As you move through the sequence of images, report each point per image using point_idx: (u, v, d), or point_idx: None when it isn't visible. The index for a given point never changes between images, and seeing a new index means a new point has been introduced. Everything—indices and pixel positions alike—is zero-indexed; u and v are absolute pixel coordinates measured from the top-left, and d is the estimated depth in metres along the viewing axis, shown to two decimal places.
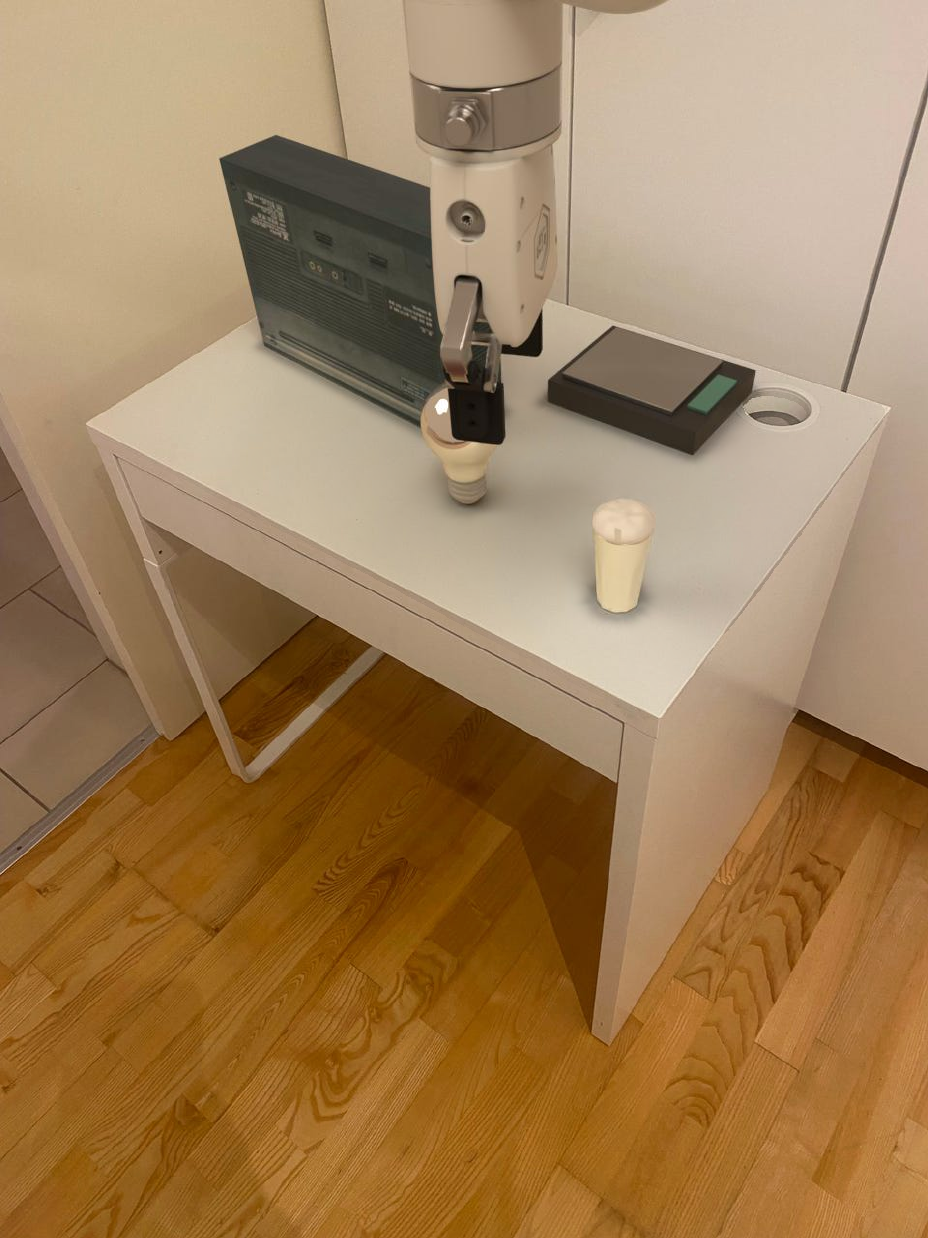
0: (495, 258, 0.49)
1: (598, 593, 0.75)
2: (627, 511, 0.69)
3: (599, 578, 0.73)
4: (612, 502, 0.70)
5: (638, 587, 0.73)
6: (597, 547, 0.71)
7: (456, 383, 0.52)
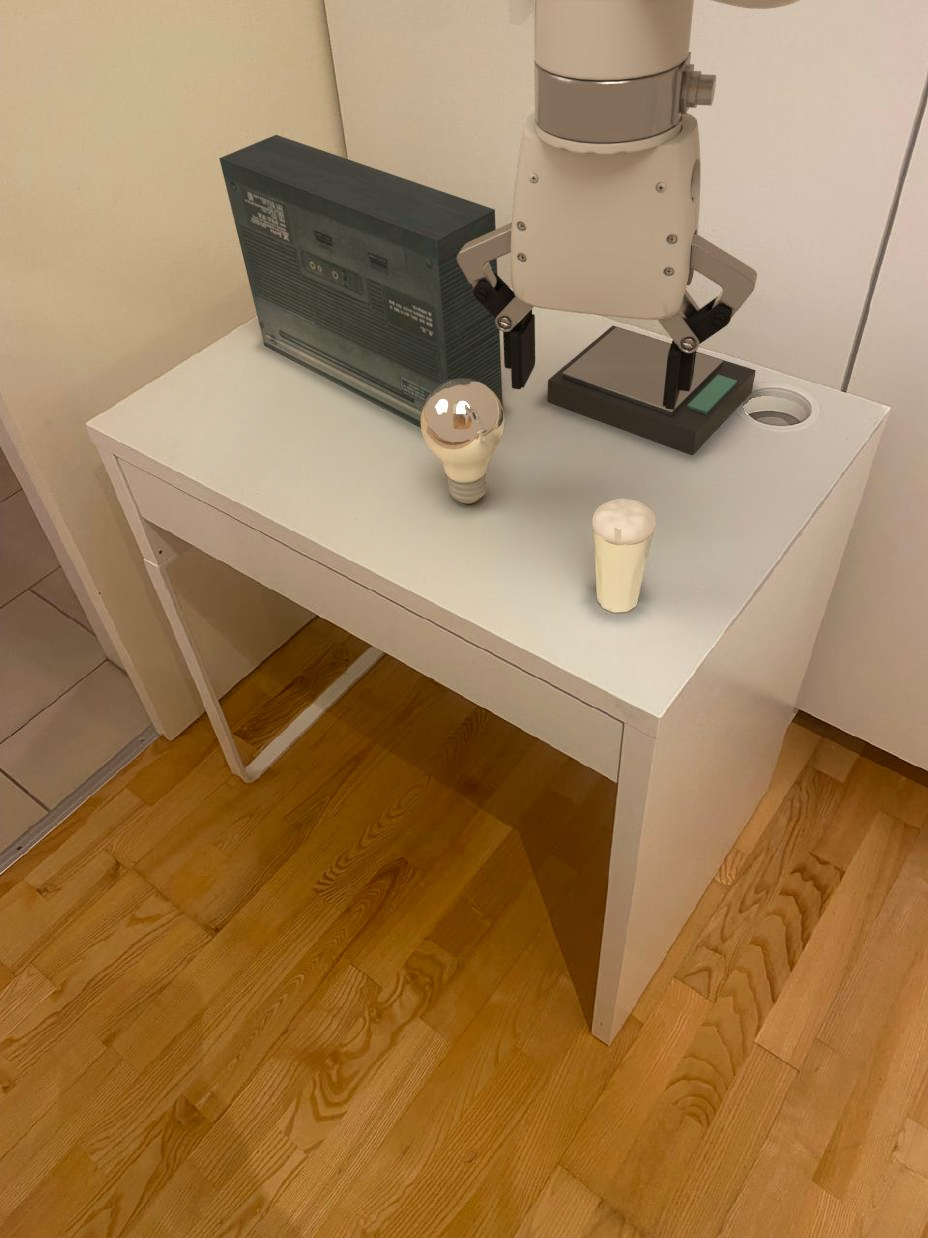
0: (699, 201, 0.52)
1: (598, 593, 0.75)
2: (627, 511, 0.69)
3: (599, 578, 0.73)
4: (612, 502, 0.70)
5: (638, 587, 0.73)
6: (597, 547, 0.71)
7: None
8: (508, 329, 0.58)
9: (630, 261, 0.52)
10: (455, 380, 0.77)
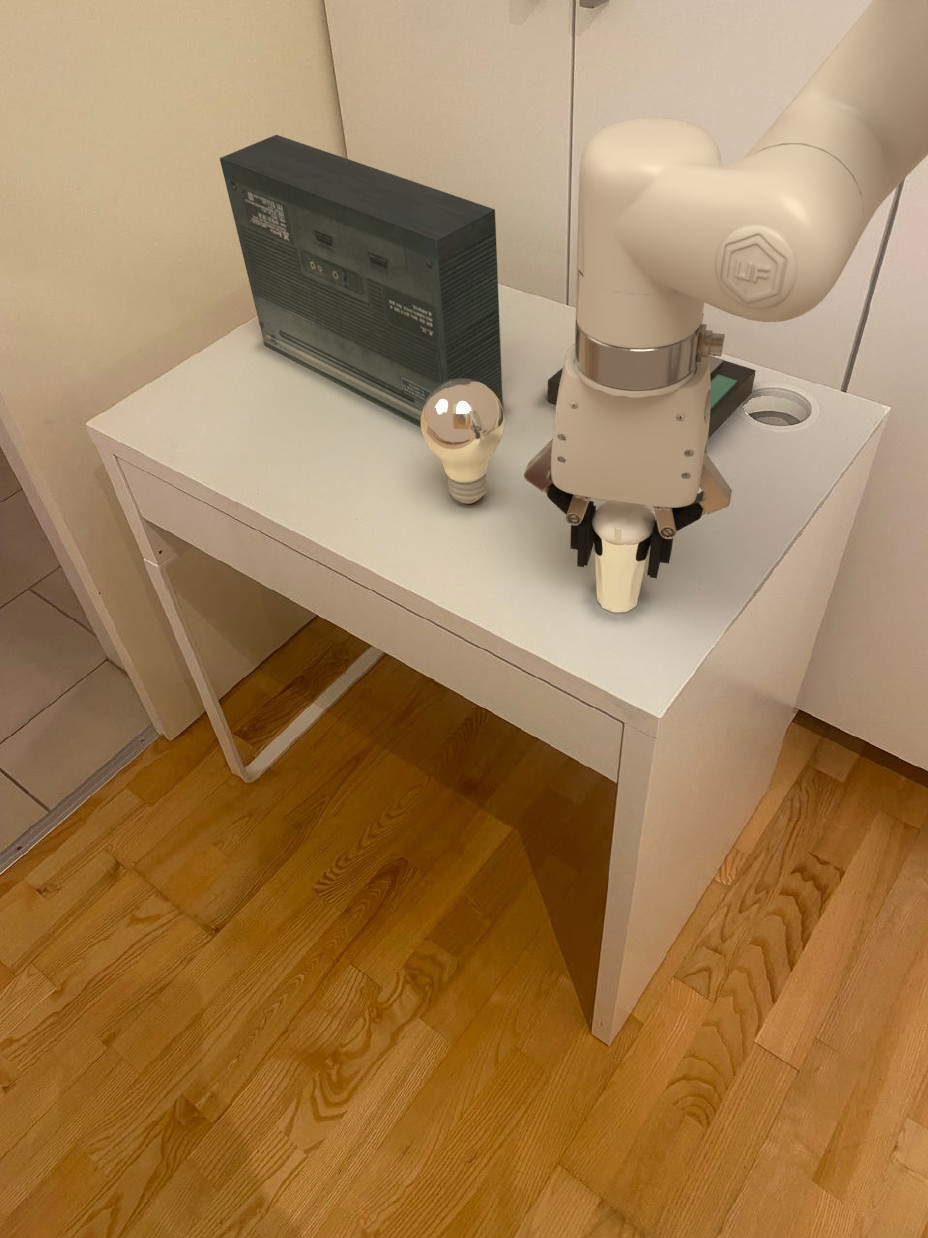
0: None
1: (598, 593, 0.75)
2: (627, 511, 0.69)
3: (599, 578, 0.73)
4: (612, 502, 0.70)
5: (638, 587, 0.73)
6: (597, 547, 0.71)
7: None
8: (576, 523, 0.69)
9: (654, 467, 0.62)
10: (455, 380, 0.77)
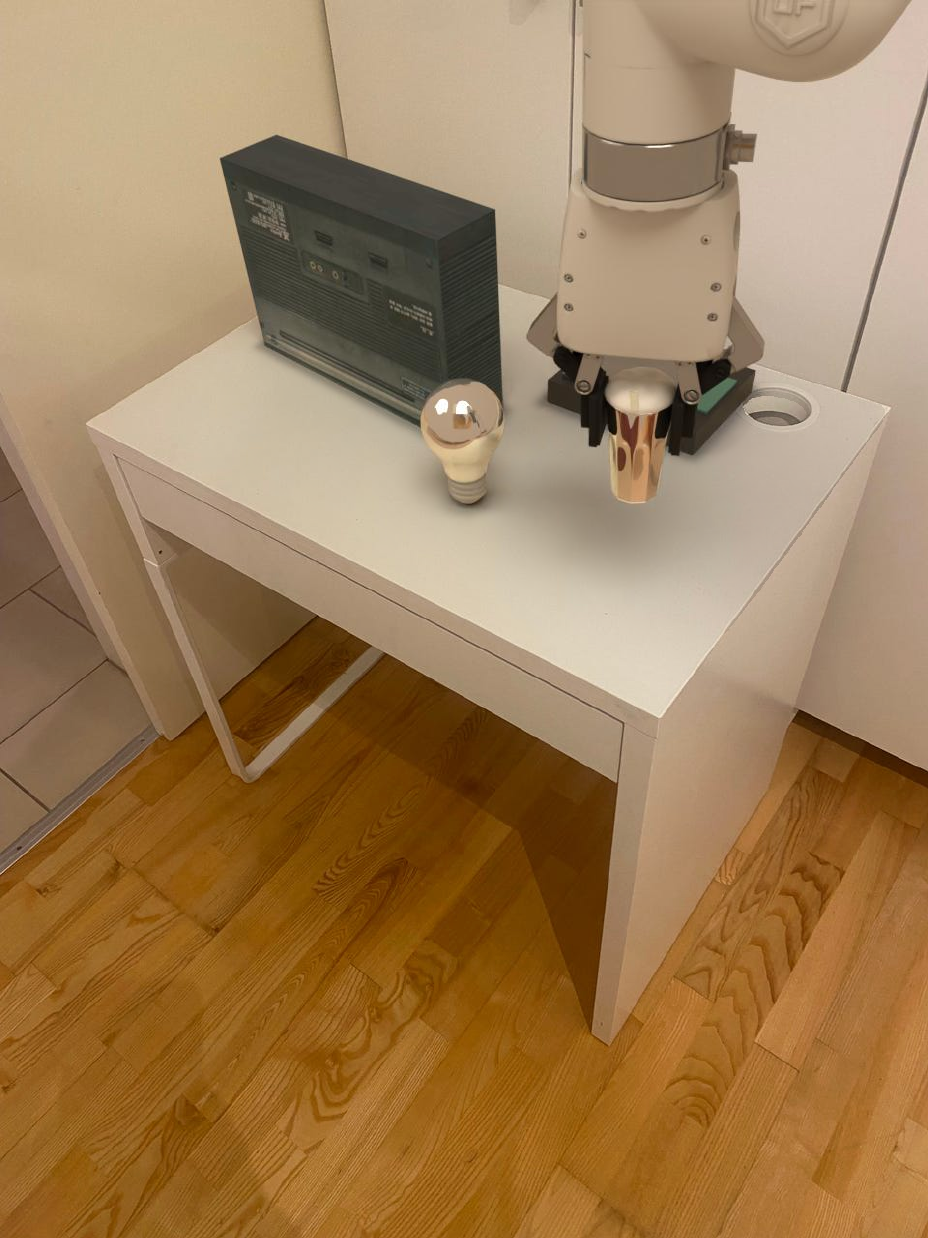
0: None
1: (613, 482, 0.66)
2: (644, 377, 0.61)
3: (613, 462, 0.65)
4: (627, 369, 0.62)
5: (658, 472, 0.65)
6: (611, 422, 0.62)
7: None
8: (587, 392, 0.61)
9: (675, 308, 0.54)
10: (455, 380, 0.77)
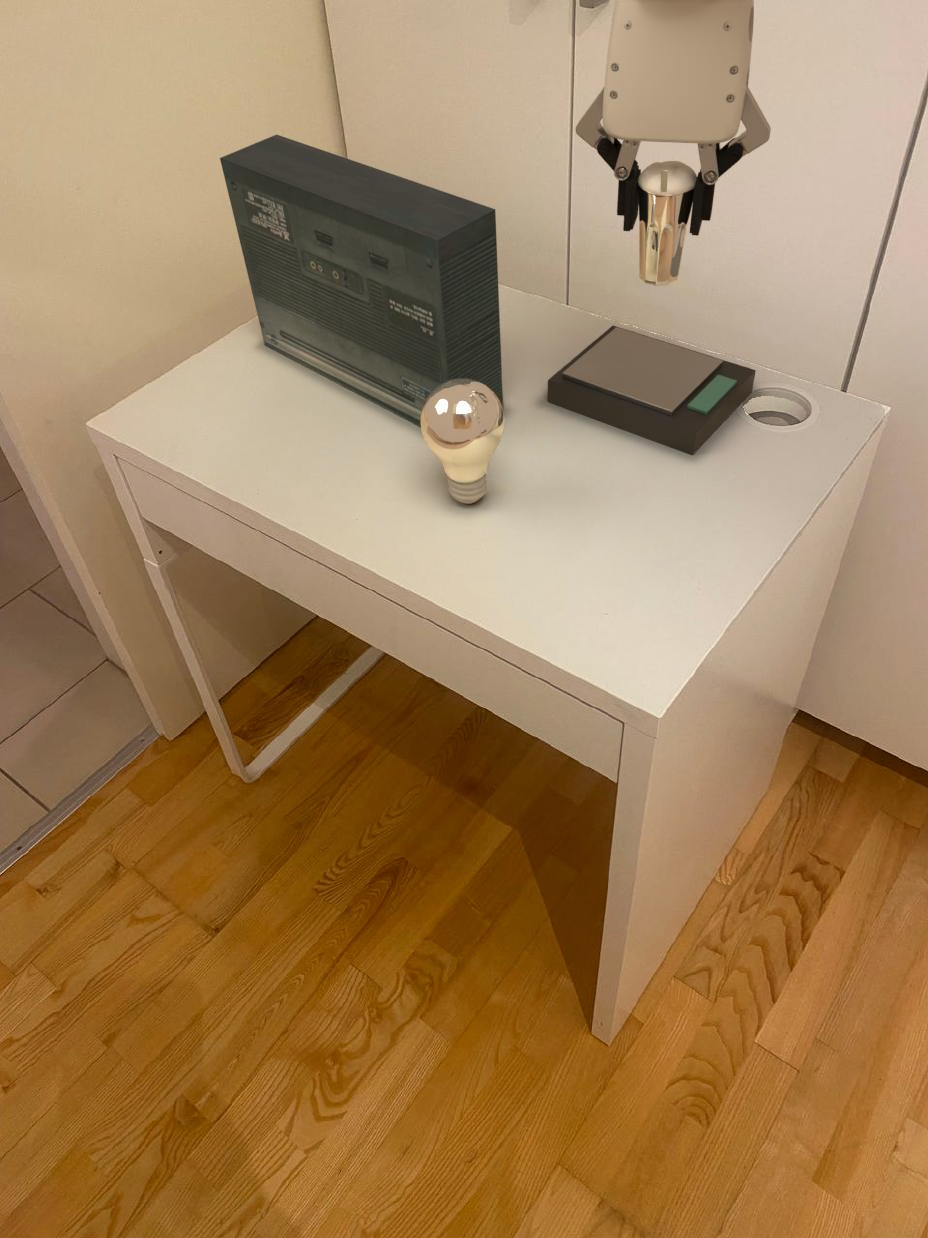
0: None
1: (641, 268, 0.80)
2: (671, 166, 0.74)
3: (643, 247, 0.78)
4: (656, 162, 0.75)
5: (679, 255, 0.78)
6: (642, 207, 0.76)
7: None
8: (624, 178, 0.74)
9: (701, 90, 0.67)
10: (455, 380, 0.77)
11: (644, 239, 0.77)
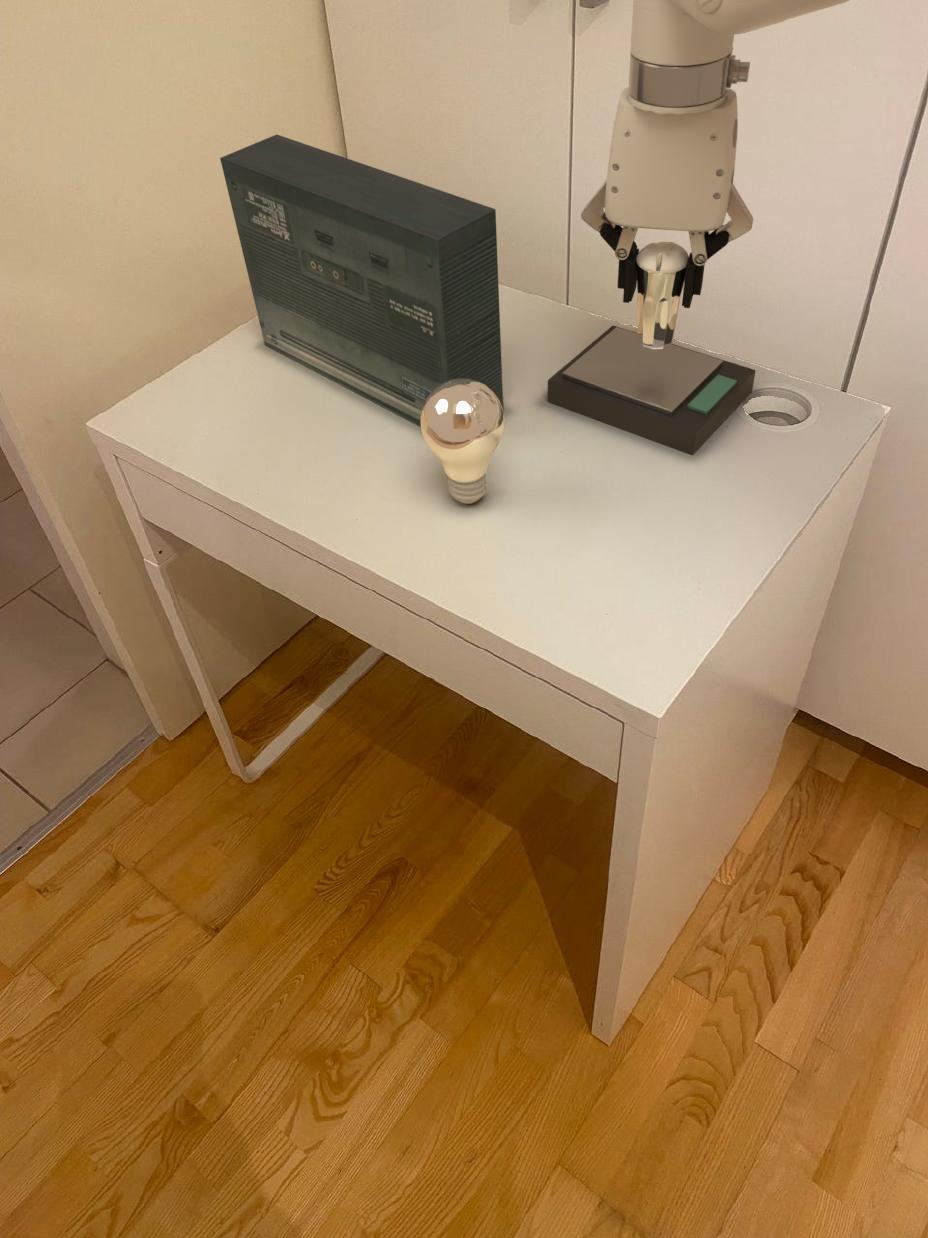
0: None
1: (639, 333, 0.89)
2: (666, 247, 0.84)
3: (640, 316, 0.87)
4: None
5: (673, 323, 0.88)
6: (640, 282, 0.85)
7: None
8: (624, 258, 0.83)
9: (691, 189, 0.77)
10: (455, 380, 0.77)
11: (642, 309, 0.87)
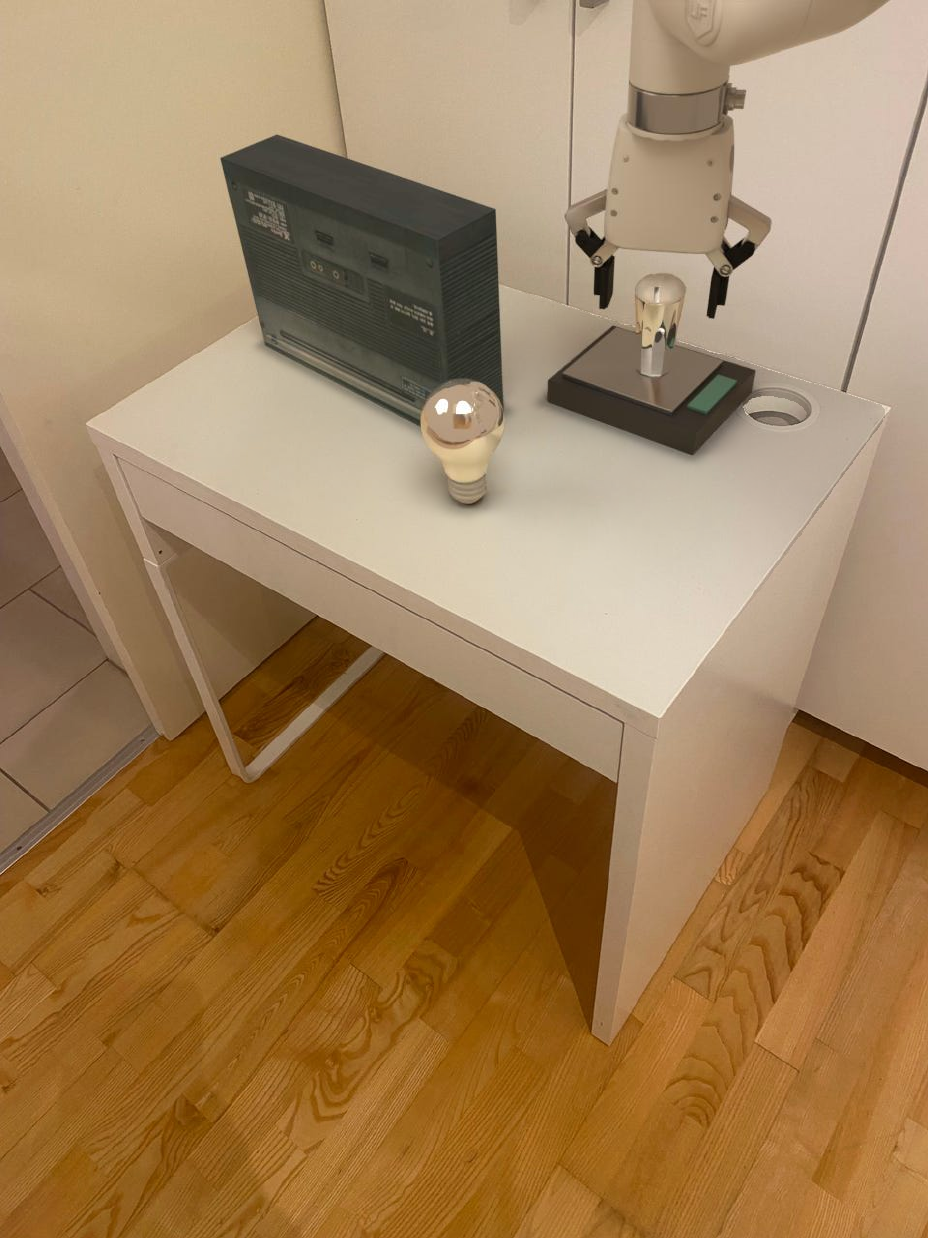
0: None
1: (637, 361, 0.91)
2: (663, 279, 0.86)
3: (639, 344, 0.90)
4: (651, 274, 0.86)
5: (671, 352, 0.90)
6: (638, 313, 0.87)
7: None
8: (599, 265, 0.84)
9: (688, 212, 0.78)
10: (455, 380, 0.77)
11: (640, 338, 0.89)
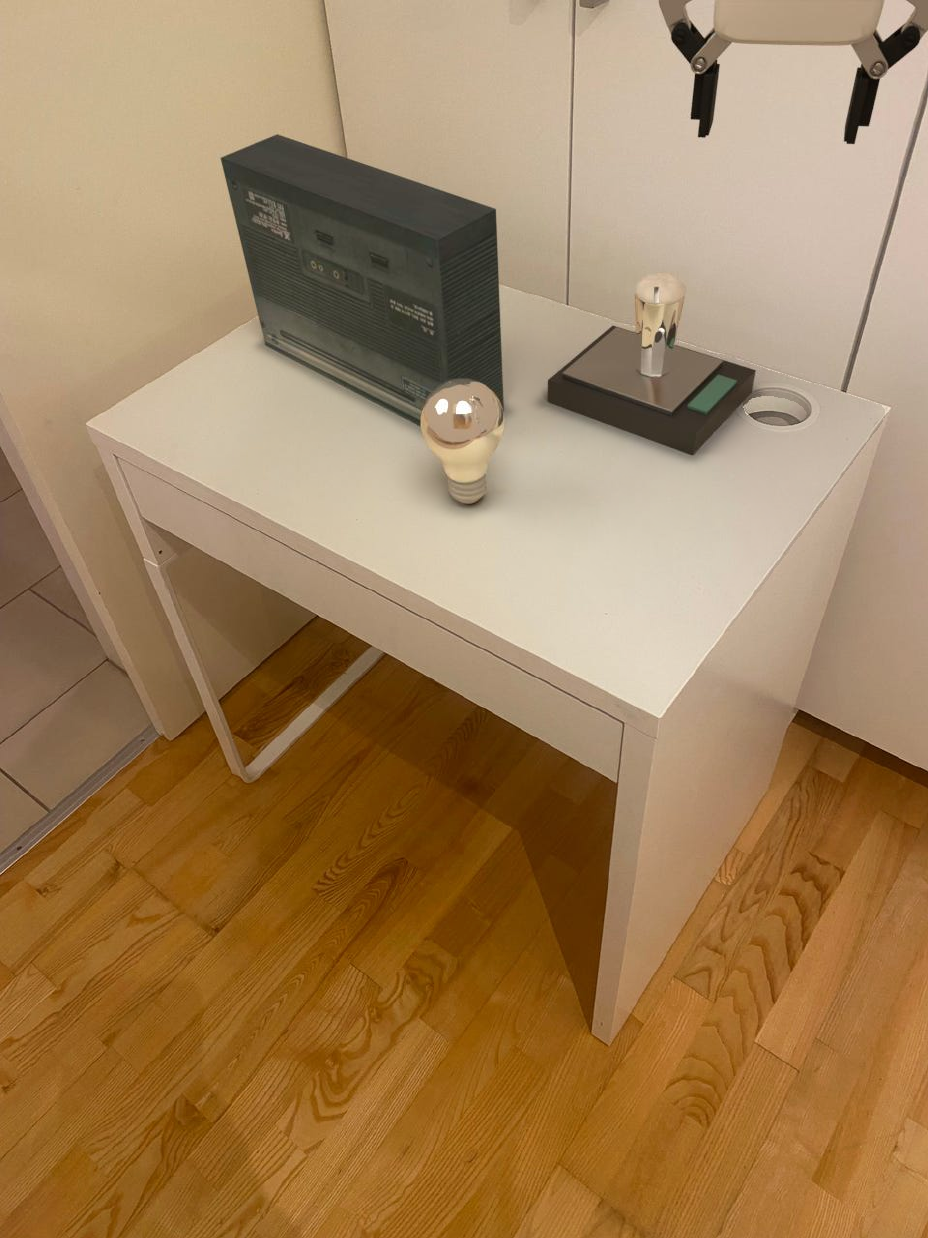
0: None
1: (637, 361, 0.91)
2: (663, 279, 0.86)
3: (639, 344, 0.90)
4: (651, 274, 0.86)
5: (671, 352, 0.90)
6: (638, 313, 0.87)
7: None
8: (702, 71, 0.63)
9: None
10: (455, 380, 0.77)
11: (640, 338, 0.89)
